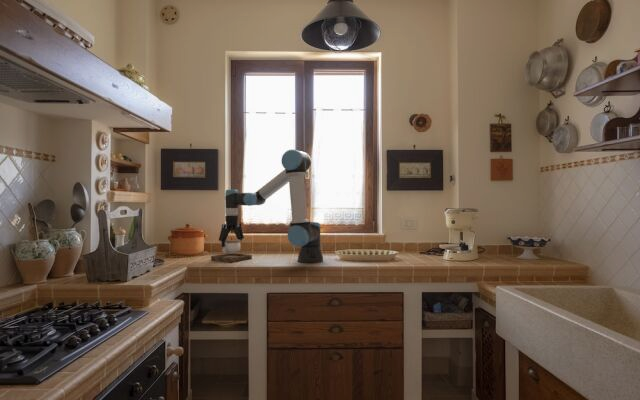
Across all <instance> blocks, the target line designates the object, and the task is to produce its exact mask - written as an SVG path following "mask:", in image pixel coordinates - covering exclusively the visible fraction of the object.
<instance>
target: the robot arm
mask: <svg viewBox="0 0 640 400" xmlns="http://www.w3.org/2000/svg"><path fill="white" fill-rule="evenodd" d="M281 165H282V167H283V168H284V169H283V170H281V172H279V173H278V174H277V175H276V176H274V177H273V178H272V179H271V180H270V181H268V182H266V183H265V185H263V186H262V187H260V188H259V189H258V190H257V191H255V192H239V190H238V189H226V190H225V195H224V199H225V201H224V202H225V204H224V205H225V206H224V207H225V209H224V211H225V213H224V214H225V216H224V217H225V218H224V219H225V220H224V221H225V223H223V224H221V230H220V233H219V237H218V241H220V242H221V249H222V253H223V254H227V253H226V252H227V242H225V241H226V240H227V238H228V237H229V234H230V233H231V231H233V232H234V235H235V236H236V239H239V240H241V242H240V249H239V250H238V252H239V251H241V247H242V246H241V245H242V240H243V239H244V238H245V236H244V233H243V232H244V231H243V228H242V223H241V222H238V221H239V216H238V215H239V206H248V207H249V206H250V207H251V206H261V205H263V204H265V203H266V200H267V199H268V198H270V197H271V196H272V195H274V194H275V193H276V192H278V191H279V190H280V189H282V188H284V186H286V185H287V184H289V196H290V197H289V198H290V208H291V209H290V210H291V220H290V222H289V229H288V230H287V235H286V236H287V240H288V241H289V243H290V244H291V245H293V246H295V247H300V249H299V251H298V252H299V253H298V255H297V261H298V262H301V263H309V264H311V263H314V264H315V263H321V262H324V256H323V252H322V249H321V224H320V222H316V221H311V220H310V219H309V218H308V210H307V199H306V198H307V197H306V187H305V175H306V174H307V171H308V170H309V169H310V167H311V165H312V158H311V156H310V155H309V153H307V152H304V151H301V150H299V149H289V150H286V151H285V152H284V153H283V154H282V156H281Z"/></svg>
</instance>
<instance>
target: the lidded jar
mask: <svg viewBox="0 0 640 400" xmlns="http://www.w3.org/2000/svg"><path fill="white" fill-rule="evenodd" d="M225 242H227V252H226V253H225V254H227V253H228V254H233V253H238V252H239V249H240V242H241V243H242V240H239V239H237V238H233V237H230V238H228V239H226V241H225Z"/></svg>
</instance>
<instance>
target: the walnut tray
mask: <svg viewBox="0 0 640 400" xmlns="http://www.w3.org/2000/svg"><path fill="white" fill-rule="evenodd" d="M210 260H211V261H215V262H223V263H228V262H229V263H230V264H233V263H238V262H243V261H249V260H253V255H252V254H245V253H239V252H237V253H233V254H228V253H223V254H222V253H221V254H216V255H211V256H210Z"/></svg>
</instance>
